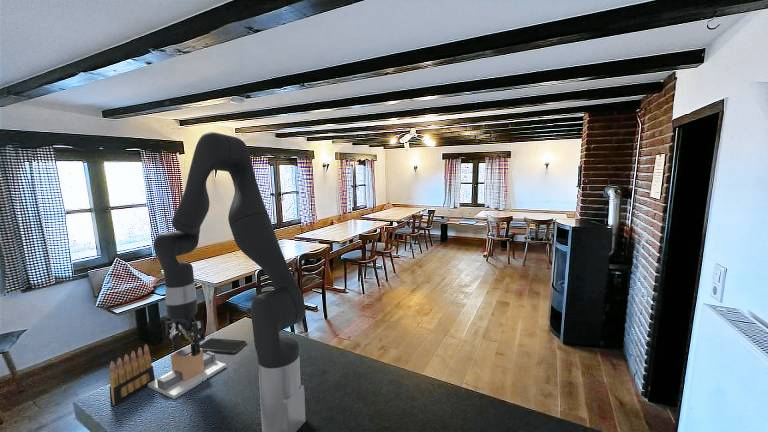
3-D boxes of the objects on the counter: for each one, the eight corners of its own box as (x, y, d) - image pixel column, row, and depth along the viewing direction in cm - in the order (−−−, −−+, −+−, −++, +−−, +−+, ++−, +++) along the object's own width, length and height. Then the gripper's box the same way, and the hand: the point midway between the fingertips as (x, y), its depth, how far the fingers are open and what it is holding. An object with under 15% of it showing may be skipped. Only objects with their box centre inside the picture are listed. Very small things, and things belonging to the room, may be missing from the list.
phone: (234, 352, 107) (194, 349, 110) (234, 355, 108) (194, 352, 110) (247, 340, 115) (210, 337, 118) (247, 343, 115) (210, 340, 118)
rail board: (226, 367, 100) (225, 356, 100) (174, 398, 86) (173, 386, 86) (200, 358, 105) (199, 348, 105) (148, 387, 91) (146, 375, 91)
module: (204, 370, 97) (202, 347, 96) (184, 381, 92) (182, 357, 91) (192, 366, 99) (190, 343, 99) (172, 377, 94) (170, 353, 93)
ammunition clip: (115, 406, 83) (110, 363, 82) (110, 405, 84) (105, 362, 83) (155, 381, 94) (151, 343, 92) (150, 380, 94) (146, 342, 93)
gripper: (209, 298, 93) (214, 350, 95) (178, 291, 99) (183, 341, 101) (184, 307, 86) (190, 363, 88) (152, 300, 92) (158, 353, 94)
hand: (186, 352), depth 94 cm, fingers open, 8 cm apart
